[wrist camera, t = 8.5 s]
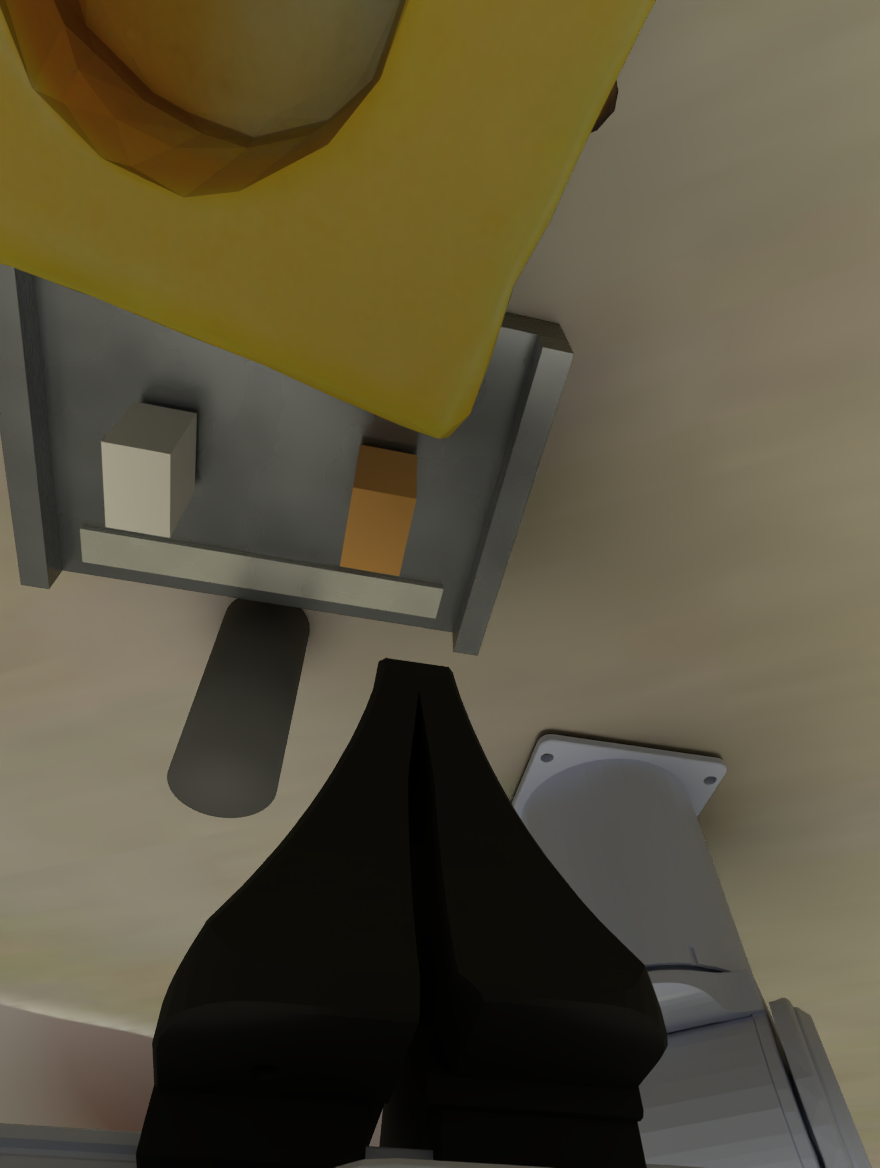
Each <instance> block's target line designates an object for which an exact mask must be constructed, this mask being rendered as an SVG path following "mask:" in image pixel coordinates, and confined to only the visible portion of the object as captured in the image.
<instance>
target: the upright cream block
mask: <svg viewBox="0 0 880 1168" xmlns="http://www.w3.org/2000/svg"><path fill="white" fill-rule="evenodd" d="M196 427H197V413H192V412H187V411H181V410H176V409H171V408H166V407H160V406H155V405H150V404H145V403H139V402H134V403H133V405H132V406H131V407H130V408H129V409H128V411H127V412H126V413H125V414H124V415H123V416H122V418H121V419H120V420H119V421H118V422H117V423H116V425H115V426H114V427H113V428H112V429H111V430H110V432H109V433H108V434H107V435H106V436H105V438H104V439H103V440H102V441H101V450H102V469H103V489H104V508H105V527H108V528H114V529H120V530H126V531H132V532H138V533H144V534H150V535H156V536H162V537H168V538H170V537H171V535H172V533H173V531H174V529H175V527H176V526H177V524H178V522H179V520H180V518H181V516H182V514H183V512H184V511H185V509H186V507H187V505H188V503H189V501H190V499H191V498H192V496H193V494H194V492H195V463H196Z"/></svg>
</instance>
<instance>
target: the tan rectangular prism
mask: <svg viewBox="0 0 880 1168" xmlns="http://www.w3.org/2000/svg"><path fill="white" fill-rule="evenodd" d="M416 494H417V455H413V454H408V453H402V452H397V451H392V450H387V449H381V448H376V447H371V446H366V445H360V449H359V455H358V461H357V467H356V472H355V478H354V484H353V490H352V496H351V502H350V508H349V514H348V520H347V526H346V532H345V538H344V544H343V550H342V556H341V562H340V566H341V567H347V568H353V569H359V570H365V571H371V572H377V573H383V574H389V575H395V576H399V575H400V570H401V566H402V561H403V557H404V552H405V548H406V543H407V539H408V534H409V530H410V525H411V521H412V516H413V512H414V507H415V503H416Z"/></svg>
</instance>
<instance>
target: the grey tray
mask: <svg viewBox="0 0 880 1168" xmlns="http://www.w3.org/2000/svg"><path fill="white" fill-rule="evenodd" d="M573 356H574V353H573V351H572V349H571V347H570V345H569V343H568V341H567V339H566V336H565V334H564V332H563V330H562V328H561V326H560V324H556V323H552V322H547V321H542V320H538V319H533V318H529V317H524V316H520V315H515V314H511V313H506V312H505V315H504V319H503V322H502V325H501V328H500V331H499V335H498V338H497V341H496V344H495V348H494V351H493V354H492V357H491V360H490V363H489V366H488V368H487V371H486V373H485V376H484V379H483V381H482V384H481V387H480V389H479V392H478V395H477V397H476V400H475V402H474V405H473V408H472V410H471V413H470V415H469V416H468V417H467V418H466V419H465V420H464V421H463V422H462V423H461V425H460V426H459V427H458V428H457V429H456V430H455V431H454V432H453V433H452V434H451V435H450V437H449V438H441V439H437V438H434V437H432V436H429V435H426V434H423V433H420V432H417V431H414V430H411V429H409V428H406V427H403V426H401V425H398V424H396V423H394V422H391V421H389V420H387V419H384V418H382V417H379V416H377V415H375V414H372V413H370V412H368V411H365V410H363V409H361V408H358V407H356V406H353V405H351V404H349V403H346V402H344V401H342V400H339V399H337V398H335V397H332V396H330V395H328V394H325V393H323V392H321V391H319V390H317V389H314V388H312V387H310V386H308V385H306V384H304V383H301V382H299V381H297V380H295V379H293V378H290V377H288V376H286V375H284V374H282V373H280V372H277V371H275V370H273V369H271V368H269V367H267V366H264V365H262V364H259V363H257V362H254V361H252V360H249V359H246V358H244V357H241V356H239V355H236V354H233V353H231V352H228V351H226V350H223V349H220V348H218V347H215V346H212V345H210V344H207V343H205V342H202V341H199V340H197V339H194V338H192V337H189V336H186V335H184V334H181V333H179V332H177V331H174V330H172V329H169V328H167V327H165V326H162V325H160V324H157V323H155V322H153V321H150V320H148V319H145V318H143V317H141V316H138V315H136V314H133V313H131V312H129V311H126V310H124V309H121V308H119V307H117V306H114V305H112V304H109V303H107V302H105V301H102V300H100V299H97V298H95V297H92V296H89V295H86V294H83V293H80V292H77V291H74V290H72V289H69V288H66V287H64V286H61V285H59V284H56V283H53V282H51V281H48V280H45V279H43V278H40V277H37V276H35V275H32V274H29V273H27V272H24V271H21V270H19V269H16V268H14V267H10V266H7V265H3V264H0V433H1V440H2V448H3V455H4V463H5V470H6V477H7V485H8V492H9V500H10V507H11V515H12V522H13V529H14V537H15V544H16V552H17V559H18V566H19V574H20V581H21V585H26V586H32V587H39V588H45V589H50V587H51V586H52V584H53V583H54V582H55V580H56V579H57V577H58V576H59V575H60V573H61V572H62V570H64V571H70V572H77V573H83V574H89V575H95V576H102V577H108V578H114V579H121V580H127V581H133V582H139V583H146V584H152V585H158V586H165V587H171V588H177V589H184V590H190V591H196V592H202V593H209V594H215V595H221V596H228V597H234V598H240V599H246V600H253V601H259V602H265V603H272V604H278V605H284V606H291V607H297V608H303V609H309V610H316V611H322V612H328V613H335V614H341V615H347V616H353V617H360V618H366V619H372V620H379V621H385V622H391V623H398V624H404V625H410V626H416V627H423V628H429V629H435V630H442V631H448V632H452V633H453V652H457V653H464V654H470V655H477V656H478V653H479V649H480V646H481V643H482V640H483V637H484V634H485V631H486V628H487V624H488V621H489V618H490V615H491V612H492V609H493V606H494V603H495V599H496V596H497V593H498V590H499V587H500V584H501V581H502V578H503V574H504V571H505V568H506V565H507V562H508V559H509V556H510V553H511V549H512V546H513V543H514V540H515V537H516V534H517V531H518V528H519V524H520V521H521V518H522V515H523V512H524V509H525V506H526V503H527V499H528V496H529V493H530V490H531V487H532V484H533V481H534V478H535V474H536V471H537V468H538V465H539V462H540V459H541V456H542V453H543V449H544V446H545V443H546V440H547V437H548V434H549V431H550V428H551V424H552V421H553V418H554V415H555V412H556V409H557V406H558V403H559V399H560V396H561V393H562V390H563V387H564V384H565V381H566V378H567V375H568V371H569V368H570V365H571V362H572V359H573ZM134 402H139V403H145V404H150V405H155V406H160V407H166V408H171V409H176V410H181V411H187V412H192V413H197V427H196V463H195V492H194V494H193V496H192V498H191V499H190V501H189V503H188V505H187V507H186V509H185V511H184V512H183V514H182V516H181V518H180V520H179V522H178V524H177V526H176V527H175V529H174V531H173V533H172V535H171V537H170V538H168V537H162V536H156V535H150V534H144V533H138V532H132V531H126V530H120V529H114V528H108V527H105V508H104V489H103V469H102V450H101V441H102V440H103V439H104V438H105V436H106V435H107V434H108V433H109V432H110V430H111V429H112V428H113V427H114V426H115V425H116V423H117V422H118V421H119V420H120V419H121V418H122V416H123V415H124V414H125V413H126V412H127V411H128V409H129V408H130V407H131V406H132V405H133V403H134ZM360 445H366V446H371V447H376V448H381V449H387V450H392V451H397V452H402V453H408V454H413V455H417V494H416V503H415V507H414V512H413V516H412V521H411V525H410V530H409V534H408V539H407V543H406V548H405V552H404V557H403V561H402V566H401V570H400V575H399V576H395V575H389V574H383V573H377V572H371V571H365V570H359V569H353V568H347V567H341V566H340V562H341V556H342V550H343V544H344V538H345V532H346V526H347V520H348V514H349V508H350V502H351V496H352V490H353V484H354V478H355V472H356V467H357V461H358V455H359V449H360Z"/></svg>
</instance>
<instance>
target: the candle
mask: <svg viewBox="0 0 880 1168" xmlns="http://www.w3.org/2000/svg"><path fill="white" fill-rule="evenodd" d="M655 1H656V0H0V264H3V265H7V266H10V267H14V268H16V269H19V270H21V271H24V272H27V273H29V274H32V275H35V276H37V277H40V278H43V279H45V280H48V281H51V282H53V283H56V284H59V285H61V286H64V287H66V288H69V289H72V290H74V291H77V292H80V293H83V294H86V295H89V296H92V297H95V298H97V299H100V300H102V301H105V302H107V303H109V304H112V305H114V306H117V307H119V308H121V309H124V310H126V311H129V312H131V313H133V314H136V315H138V316H141V317H143V318H145V319H148V320H150V321H153V322H155V323H157V324H160V325H162V326H165V327H167V328H169V329H172V330H174V331H177V332H179V333H181V334H184V335H186V336H189V337H192V338H194V339H197V340H199V341H202V342H205V343H207V344H210V345H212V346H215V347H218V348H220V349H223V350H226V351H228V352H231V353H233V354H236V355H239V356H241V357H244V358H246V359H249V360H252V361H254V362H257V363H259V364H262V365H264V366H267V367H269V368H271V369H273V370H275V371H277V372H280V373H282V374H284V375H286V376H288V377H290V378H293V379H295V380H297V381H299V382H301V383H304V384H306V385H308V386H310V387H312V388H314V389H317V390H319V391H321V392H323V393H325V394H328V395H330V396H332V397H335V398H337V399H339V400H342V401H344V402H346V403H349V404H351V405H353V406H356V407H358V408H361V409H363V410H365V411H368V412H370V413H372V414H375V415H377V416H379V417H382V418H384V419H387V420H389V421H391V422H394V423H396V424H398V425H401V426H403V427H406V428H409V429H411V430H414V431H417V432H420V433H423V434H426V435H429V436H432V437H434V438H437V439H441V438H449V437H450V435H451V434H452V433H453V432H454V431H455V430H456V429H457V428H458V427H459V426H460V425H461V423H462V422H463V421H464V420H465V419H466V418H467V417H468V416H469V415H470V413H471V410H472V408H473V405H474V402H475V400H476V397H477V395H478V392H479V389H480V387H481V384H482V381H483V379H484V376H485V373H486V371H487V368H488V366H489V363H490V360H491V357H492V354H493V351H494V348H495V344H496V341H497V338H498V335H499V331H500V328H501V325H502V322H503V319H504V315H505V312H506V309H507V306H508V302H509V299H510V296H511V293H512V289H513V286H514V284H515V282H516V280H517V278H518V277H519V275H520V273H521V271H522V269H523V268H524V266H525V264H526V262H527V261H528V259H529V257H530V255H531V254H532V252H533V250H534V248H535V246H536V245H537V243H538V241H539V239H540V238H541V236H542V234H543V232H544V231H545V229H546V227H547V225H548V223H549V222H550V220H551V218H552V215H553V213H554V211H555V209H556V206H557V204H558V202H559V200H560V198H561V195H562V193H563V191H564V189H565V186H566V184H567V182H568V180H569V177H570V175H571V173H572V171H573V169H574V166H575V164H576V162H577V160H578V157H579V155H580V153H581V151H582V149H583V147H584V145H585V143H586V141H587V139H588V137H589V134H590V133H591V132H594V131H596V130H598V128H599V127H600V126H601V125H602V124H603V123H604V122H605V121H606V119H607V118H608V117H609V116H610V115H611V114H612V113H613V112H614V110H615V105H616V100H617V95H618V87H617V81H616V79H617V77H618V75H619V73H620V71H621V69H622V67H623V65H624V63H625V61H626V59H627V57H628V55H629V53H630V50H631V48H632V46H633V44H634V42H635V40H636V38H637V36H638V34H639V32H640V30H641V28H642V26H643V24H644V22H645V20H646V18H647V16H648V14H649V13H650V11H651V9H652V7H653V5H654V3H655Z"/></svg>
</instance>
